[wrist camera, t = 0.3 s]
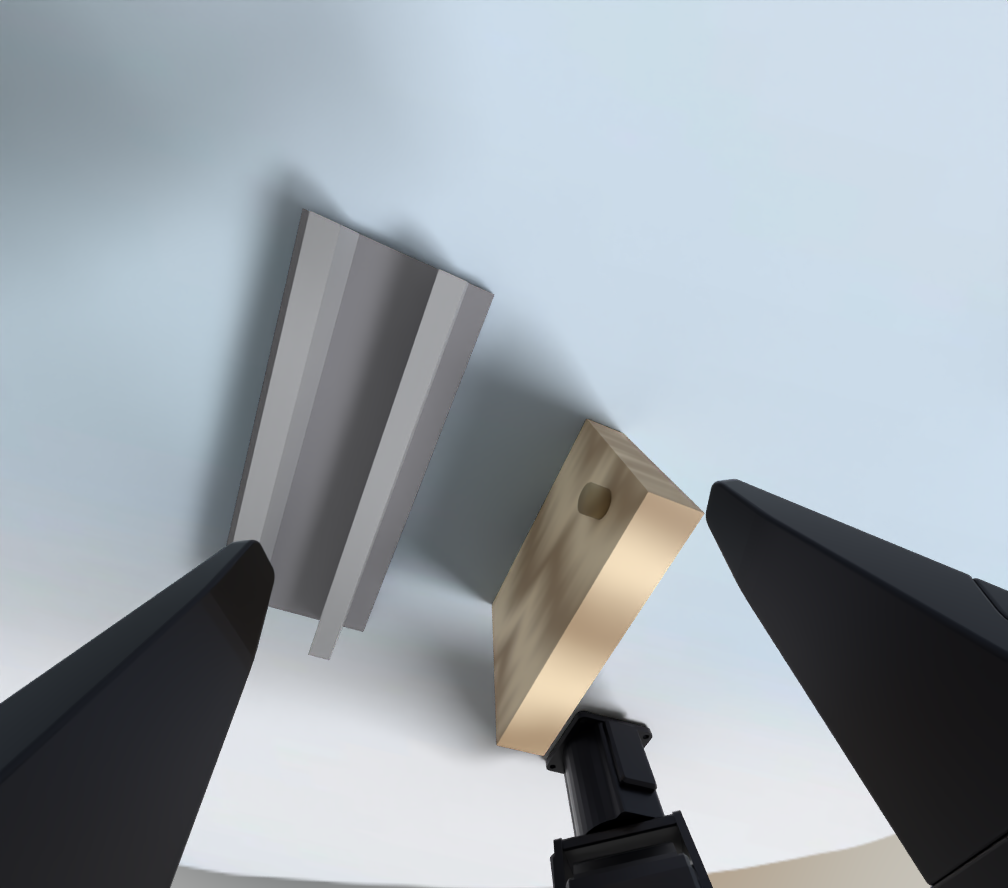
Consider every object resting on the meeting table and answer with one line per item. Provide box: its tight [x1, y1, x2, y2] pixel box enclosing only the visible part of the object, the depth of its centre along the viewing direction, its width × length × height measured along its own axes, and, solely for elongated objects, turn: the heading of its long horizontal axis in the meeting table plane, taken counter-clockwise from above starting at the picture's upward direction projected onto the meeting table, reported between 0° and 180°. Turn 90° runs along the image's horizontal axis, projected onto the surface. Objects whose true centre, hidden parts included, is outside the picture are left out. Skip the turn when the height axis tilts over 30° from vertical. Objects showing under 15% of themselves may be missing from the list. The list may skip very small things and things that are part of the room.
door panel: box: [492, 419, 704, 756], centre depth 21 cm, size 14×3×9 cm, turn 157°
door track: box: [226, 209, 494, 660], centre depth 21 cm, size 22×9×4 cm, turn 157°
